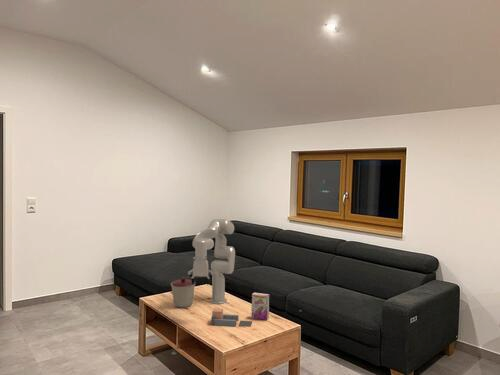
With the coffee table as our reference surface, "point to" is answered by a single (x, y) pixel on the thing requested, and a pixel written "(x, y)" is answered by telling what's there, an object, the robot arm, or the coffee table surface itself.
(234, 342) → the coffee table surface
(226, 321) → the grey u-shaped bracket
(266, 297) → the candy bar box
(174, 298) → the canister
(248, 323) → the mat
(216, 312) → the block
